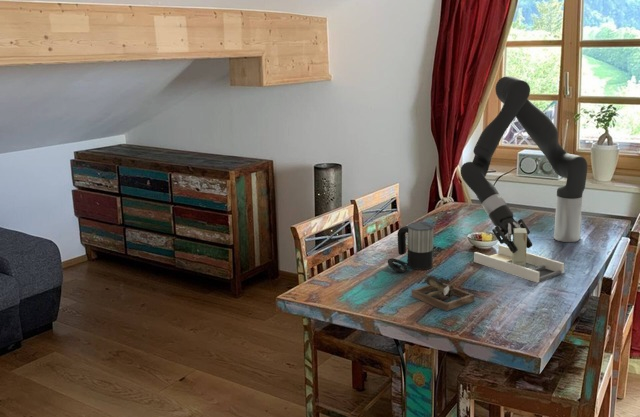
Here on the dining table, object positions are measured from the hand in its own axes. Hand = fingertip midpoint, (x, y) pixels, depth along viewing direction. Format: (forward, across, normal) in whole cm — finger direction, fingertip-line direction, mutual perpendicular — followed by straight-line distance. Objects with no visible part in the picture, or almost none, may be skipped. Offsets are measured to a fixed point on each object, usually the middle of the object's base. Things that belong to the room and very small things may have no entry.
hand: (523, 249), depth 232 cm
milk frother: (-13, -29, +23) cm, 39 cm away
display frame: (+6, -40, +3) cm, 41 cm away
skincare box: (+3, 0, +5) cm, 6 cm away
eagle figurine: (+5, -41, +4) cm, 42 cm away
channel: (+4, 0, +6) cm, 7 cm away
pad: (-3, 0, +13) cm, 13 cm away
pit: (+11, 0, -1) cm, 11 cm away
